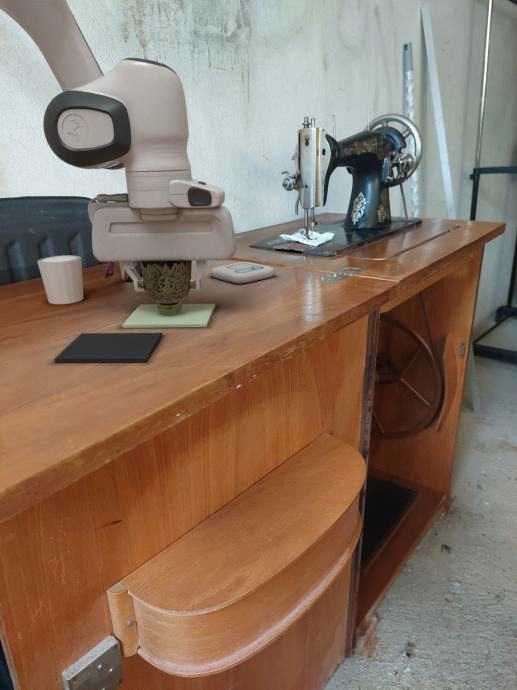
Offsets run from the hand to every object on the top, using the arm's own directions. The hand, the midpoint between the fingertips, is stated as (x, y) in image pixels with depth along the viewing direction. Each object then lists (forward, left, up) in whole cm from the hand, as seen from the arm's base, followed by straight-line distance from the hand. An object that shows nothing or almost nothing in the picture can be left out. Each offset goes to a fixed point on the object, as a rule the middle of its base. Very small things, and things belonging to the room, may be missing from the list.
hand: (168, 290), depth 76 cm
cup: (0, 0, -3) cm, 3 cm away
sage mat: (0, 0, -4) cm, 4 cm away
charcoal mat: (-5, -13, -4) cm, 15 cm away
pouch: (-11, +30, -4) cm, 32 cm away
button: (+9, +25, -4) cm, 27 cm away
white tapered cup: (-20, +10, -4) cm, 23 cm away
